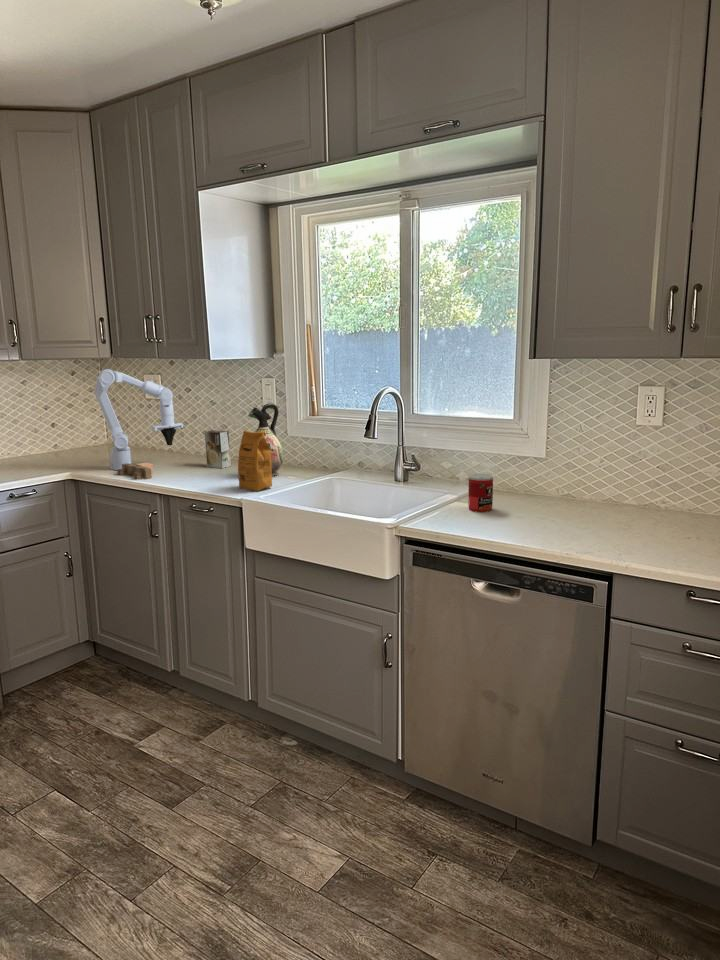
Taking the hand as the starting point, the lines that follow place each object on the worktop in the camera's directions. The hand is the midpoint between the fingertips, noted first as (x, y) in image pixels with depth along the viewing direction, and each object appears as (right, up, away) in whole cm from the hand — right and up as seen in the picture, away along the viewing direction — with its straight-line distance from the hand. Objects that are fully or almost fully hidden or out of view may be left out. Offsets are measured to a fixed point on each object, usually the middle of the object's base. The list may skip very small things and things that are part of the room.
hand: (169, 445), depth 310 cm
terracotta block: (-6, -13, -17) cm, 22 cm away
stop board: (-9, -14, -21) cm, 27 cm away
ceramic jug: (+48, -14, -25) cm, 55 cm away
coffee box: (+23, -10, -3) cm, 25 cm away
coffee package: (+46, -19, -49) cm, 70 cm away
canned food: (+125, -25, -87) cm, 155 cm away
